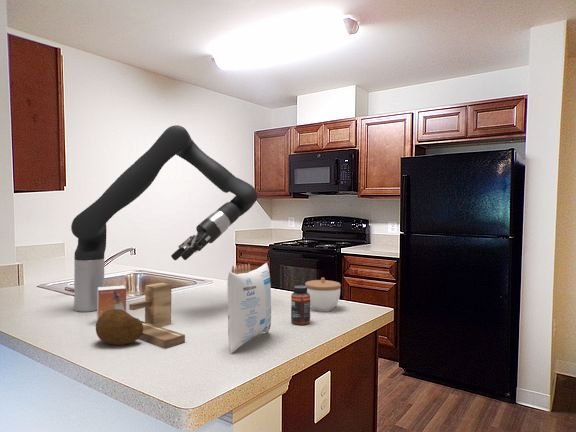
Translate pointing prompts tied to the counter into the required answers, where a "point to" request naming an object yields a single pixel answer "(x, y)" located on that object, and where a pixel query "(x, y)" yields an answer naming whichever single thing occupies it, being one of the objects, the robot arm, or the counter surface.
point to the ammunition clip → (241, 269)
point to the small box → (110, 299)
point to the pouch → (248, 305)
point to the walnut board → (161, 336)
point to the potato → (118, 327)
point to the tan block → (156, 304)
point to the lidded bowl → (323, 294)
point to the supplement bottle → (300, 306)
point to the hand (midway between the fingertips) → (177, 258)
